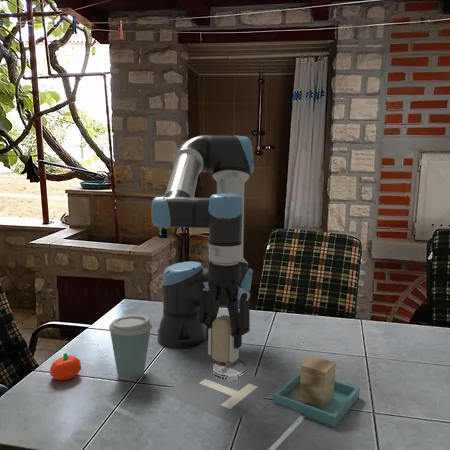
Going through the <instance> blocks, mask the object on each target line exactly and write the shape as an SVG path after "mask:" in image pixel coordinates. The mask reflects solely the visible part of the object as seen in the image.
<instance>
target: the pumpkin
mask: <svg viewBox="0 0 450 450" xmlns="http://www.w3.org/2000/svg"><path fill="white" fill-rule="evenodd" d="M81 370H82V364H81V360H80V359H79V358H78V357H77V356H75V355H68V353H67V352H65V353H63V356H61V357H59V358H58V359H56V360H54V361H53V362H52V363H51V365H50V370H49V374H50V376H51V377H52V378H53V379H55V380H58V381H67V380H70V379H72V378H74V377H75V376H78V374H79V373H80V371H81Z"/></svg>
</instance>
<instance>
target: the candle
mask: <svg viewBox="0 0 450 450" xmlns="http://www.w3.org/2000/svg"><path fill="white" fill-rule="evenodd" d="M231 334H233V331H232V327H231V322H230V317H229V314H227V315H220V316H217V318H216V319H215V320H214V321H213V323H212V355H211V356H212V359H213V360H214V361H216V362H219V363H228V362H229V361H230V335H231ZM229 363H230V362H229Z"/></svg>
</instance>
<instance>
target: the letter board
mask: <svg viewBox="0 0 450 450" xmlns="http://www.w3.org/2000/svg"><path fill="white" fill-rule="evenodd" d="M214 362H215V361H213V362H211V363H210V364H209V365H207V366H205V367H204V368H202V369H201V370H199V371H197V372H196V373H193V374H192V375H190V377H188V378H186V379H185V380H183V381H182V382H180V383H178V384H176V385H175V386H173V387H172V388H170V389H169V390H167V391H166V392H164V393H163V394H164V395H167V396H169V397H171V398H173V399H175V400H178V401H180V402H183V403H184V404H187V405H189V406H192V407H195V408H197V409H199V410H201V411H203V412H205V413H208V414H211V415H213V416H215V417H218V418H220V419H222V420H224V421H226V422H230V423H232V424H235V423H236V422H238V421H239V420H240V419H241V418H243V416H244V415H246V414H247V413H248V412H249V411H250V410H252V409H253V408H254V407H255V406H256V405H257V404H258V403H260V402H261V401H262V400H264V399H265V398H266V397H267V396H268V395H269V394H270V393H272V392H273V391H274V390H275V389H277V387H279V386H280V384H279V383H275V382H272V381H269V380H267V379H264V378H261V377H259V376H255V375H252V374H249V373H247V372H244V373H245V374H244V375H243V376H241V377H239V378H238V379H236V380H232V381H227V380H222V379H218V378H216V377H215V376H214V375H213V364H214Z"/></svg>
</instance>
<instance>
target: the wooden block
mask: <svg viewBox="0 0 450 450" xmlns="http://www.w3.org/2000/svg"><path fill="white" fill-rule="evenodd" d="M336 365H337V364H336V362H334V361H332V360H328V359H324V358H323V357H322V358H321V357H318V356H314V355H311V356H310V357H309V358H307V359H306V360H305V361H304V362H302V363H301V365H300V371H301V373H300V382H299V395H298V399H299V401H302V402H304V403H308V404H310V405H311V406H314V407H317V408H320V409H322V410H324V408H325V407H326V406H327V405H328V404H329V403H330V402H331V401H332V400H333V398H334V384H335V380H336V367H337V366H336Z"/></svg>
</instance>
